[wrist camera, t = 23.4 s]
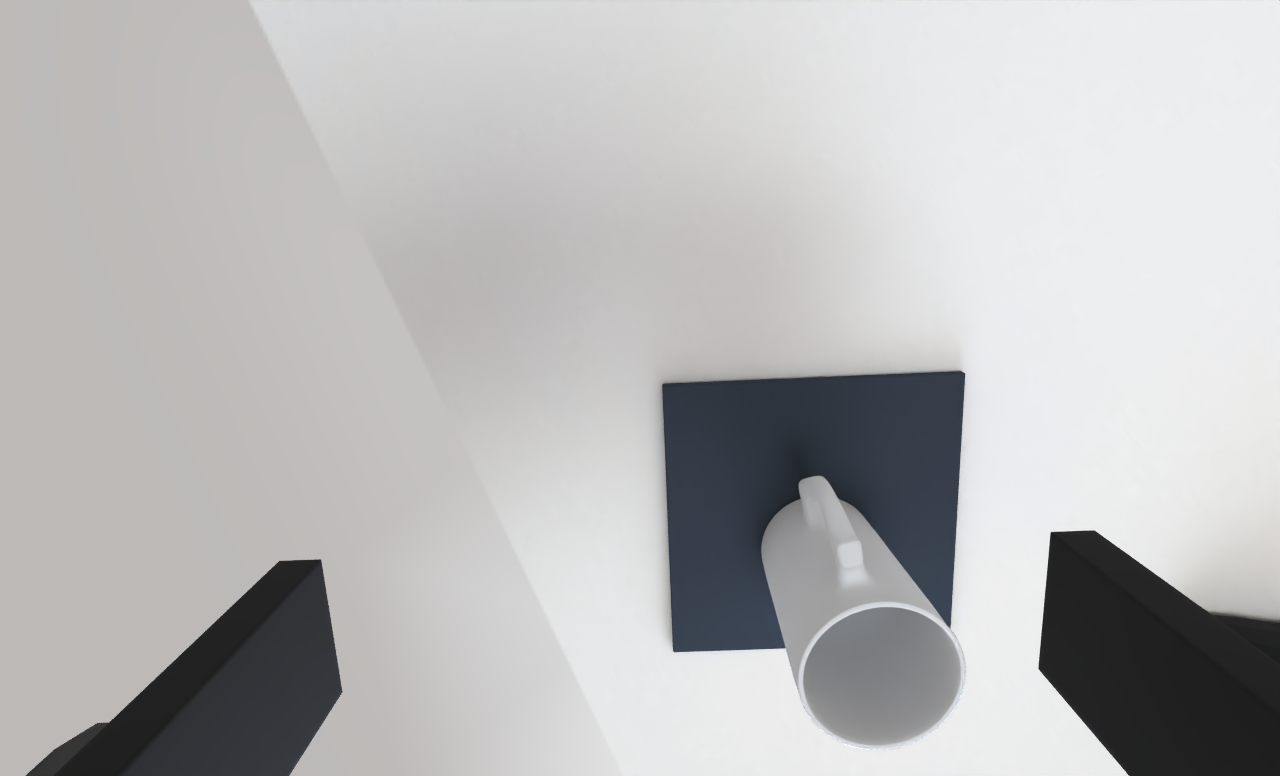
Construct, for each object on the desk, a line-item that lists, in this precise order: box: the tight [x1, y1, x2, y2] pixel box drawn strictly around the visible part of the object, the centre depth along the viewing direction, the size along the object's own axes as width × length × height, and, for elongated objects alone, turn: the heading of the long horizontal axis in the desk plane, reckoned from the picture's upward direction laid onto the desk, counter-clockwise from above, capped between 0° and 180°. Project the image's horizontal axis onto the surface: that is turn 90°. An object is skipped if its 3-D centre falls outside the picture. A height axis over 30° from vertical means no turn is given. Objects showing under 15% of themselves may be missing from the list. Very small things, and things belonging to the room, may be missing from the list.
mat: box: [663, 371, 965, 652], centre depth 41 cm, size 16×16×1 cm
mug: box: [761, 476, 966, 750], centre depth 35 cm, size 10×7×12 cm, turn 14°
